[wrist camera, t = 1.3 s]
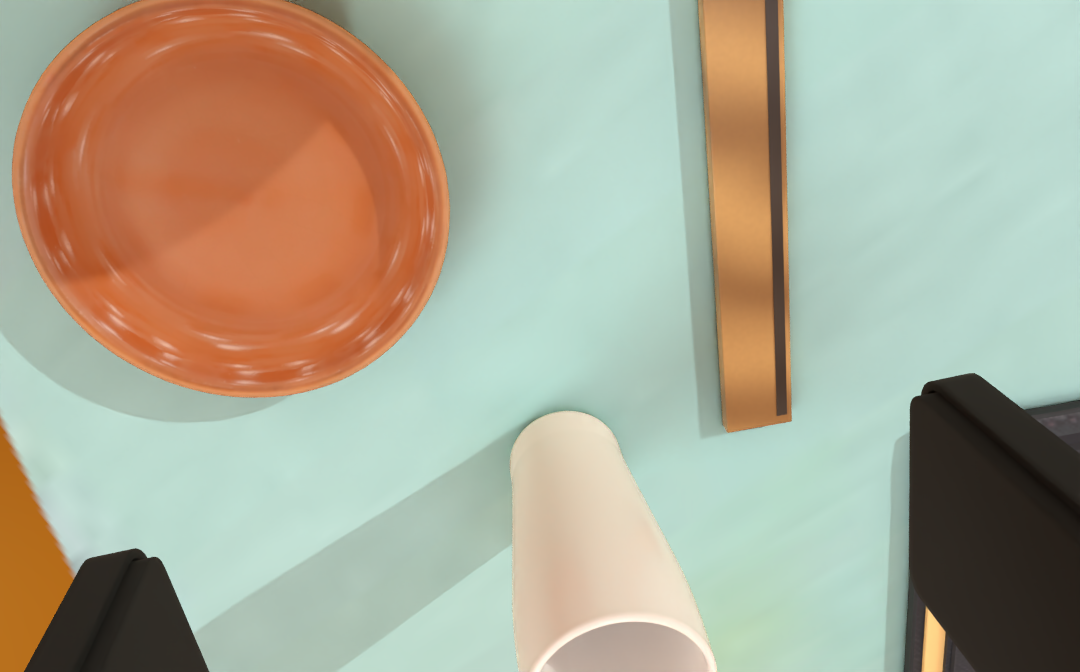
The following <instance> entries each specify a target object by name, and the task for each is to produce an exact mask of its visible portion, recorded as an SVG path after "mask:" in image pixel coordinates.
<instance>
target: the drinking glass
mask: <svg viewBox="0 0 1080 672" xmlns="http://www.w3.org/2000/svg"><path fill="white" fill-rule="evenodd" d="M510 475H511V482H512V612H513V629H514V640H515V649H516V657H517V664H518V670H519V672H717V666H716V661H715V658H714V655H713V652H712V649H711V646H710V642H709V639H708V636H707V633H706V630H705V627H704V624H703V621H702V618H701V615H700V612H699V609H698V607H697V604H696V601H695V599H694V596H693V594H692V591H691V589H690V586H689V584H688V582H687V580H686V577H685V575H684V573H683V571H682V569H681V567H680V565H679V563H678V561H677V559H676V557H675V555H674V553H673V551H672V549H671V547H670V545H669V544H668V542H667V540H666V538H665V536H664V534H663V532H662V530H661V529H660V527H659V525H658V523H657V521H656V519H655V517H654V516H653V514H652V512H651V510H650V508H649V506H648V504H647V502H646V500H645V499H644V497H643V495H642V493H641V491H640V489H639V487H638V485H637V483H636V481H635V480H634V478H633V476H632V474H631V472H630V470H629V468H628V466H627V464H626V462H625V460H624V458H623V455H622V452H621V450H620V447H619V444H618V442H617V440H616V438H615V436H614V434H613V433H612V431H611V430H610V429H609V428H608V427H607V426H606V425H605V424H604V423H603V422H602V421H600V420H599V419H597V418H595V417H593V416H591V415H589V414H586V413H582V412H577V411H559V412H554V413H550V414H547V415H544V416H542V417H540V418H538V419H536V420H535V421H533V422H532V423H530V424H529V425H528V426H527V427H526V428H525V429H524V430H523V431H522V432H521V433H520V435H519V436H518V438H517V439H516V441H515V443H514V445H513V448H512V451H511V455H510Z"/></svg>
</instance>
